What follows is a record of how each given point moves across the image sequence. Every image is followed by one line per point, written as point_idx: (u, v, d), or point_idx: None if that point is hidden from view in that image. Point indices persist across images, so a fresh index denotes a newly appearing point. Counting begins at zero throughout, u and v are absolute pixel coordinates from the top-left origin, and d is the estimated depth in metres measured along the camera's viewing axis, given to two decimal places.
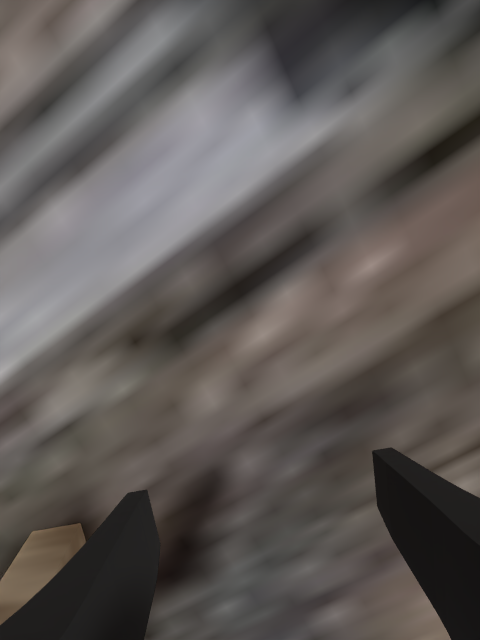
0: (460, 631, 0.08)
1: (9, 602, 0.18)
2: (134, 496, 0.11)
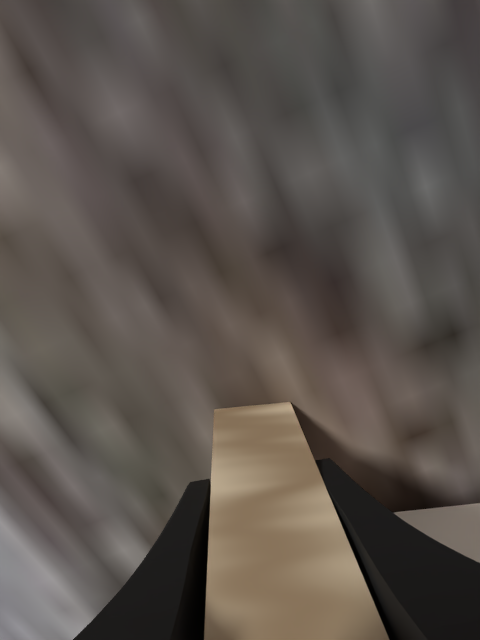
0: None
1: None
2: (198, 485, 0.11)
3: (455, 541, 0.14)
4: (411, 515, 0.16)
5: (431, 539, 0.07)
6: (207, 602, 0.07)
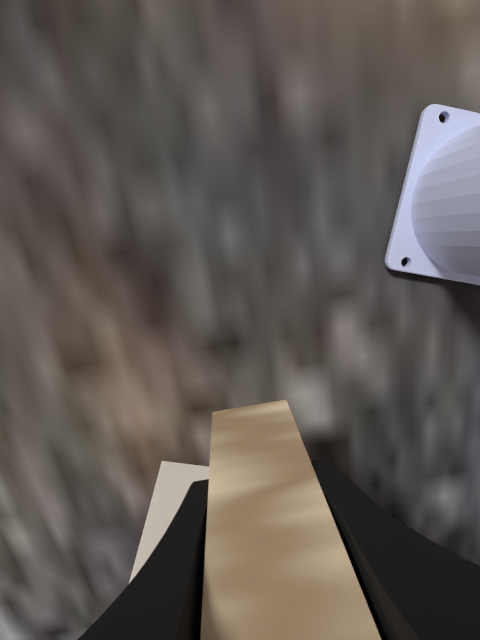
0: None
1: None
2: (202, 484, 0.11)
3: None
4: (184, 466, 0.22)
5: (427, 540, 0.07)
6: (204, 599, 0.07)
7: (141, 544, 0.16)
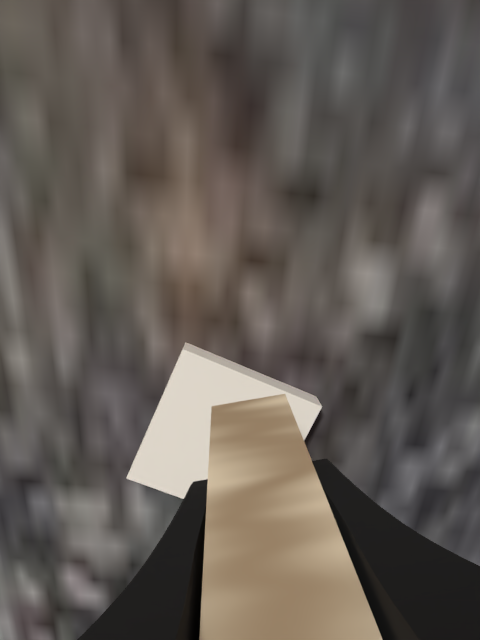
0: None
1: None
2: (201, 484, 0.11)
3: (210, 396, 0.20)
4: (204, 364, 0.19)
5: (427, 540, 0.07)
6: (203, 592, 0.07)
7: (140, 449, 0.20)
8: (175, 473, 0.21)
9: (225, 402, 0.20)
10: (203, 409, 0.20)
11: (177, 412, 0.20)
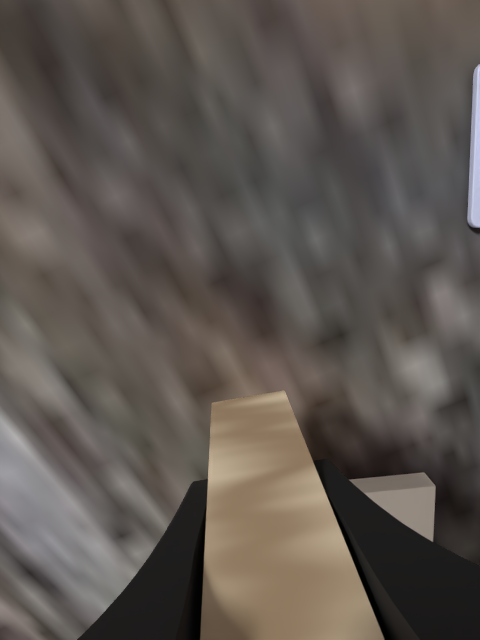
0: None
1: None
2: (201, 484, 0.11)
3: None
4: None
5: (427, 540, 0.07)
6: (204, 580, 0.07)
7: None
8: None
9: None
10: None
11: None
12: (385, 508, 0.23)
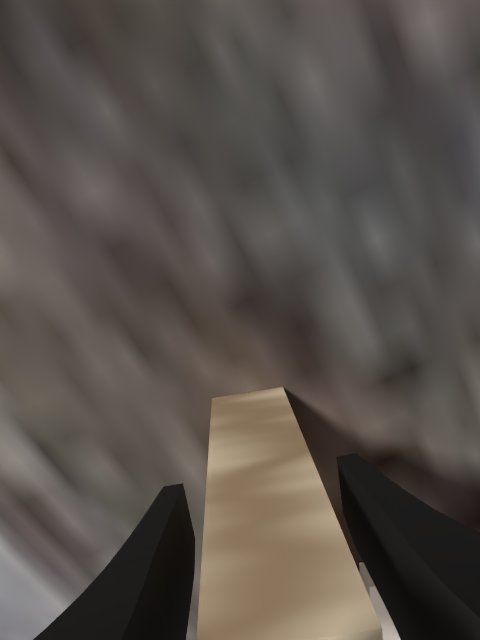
0: None
1: None
2: (171, 489, 0.11)
3: None
4: None
5: (473, 532, 0.07)
6: (203, 556, 0.08)
7: None
8: None
9: None
10: None
11: None
12: None
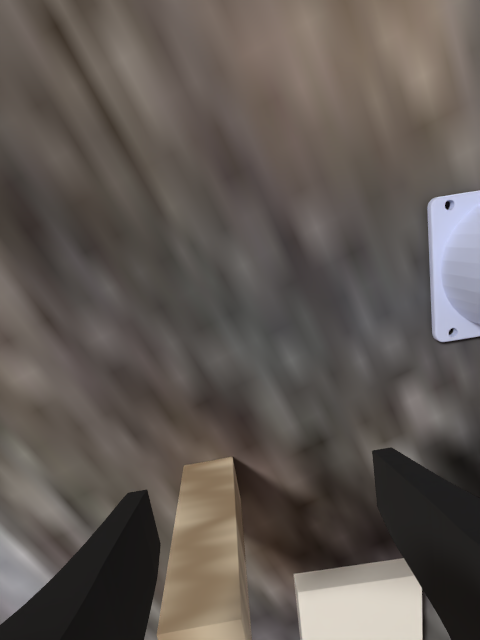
0: (460, 631, 0.08)
1: None
2: (134, 496, 0.11)
3: (335, 609, 0.24)
4: (318, 593, 0.24)
5: None
6: (165, 583, 0.15)
7: None
8: None
9: (348, 607, 0.24)
10: (335, 620, 0.24)
11: (317, 631, 0.24)
12: (375, 596, 0.24)
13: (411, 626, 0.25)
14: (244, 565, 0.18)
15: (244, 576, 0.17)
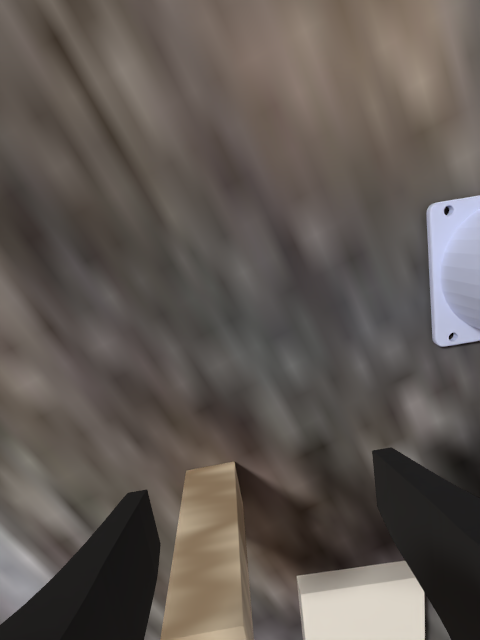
0: (460, 631, 0.08)
1: None
2: (134, 496, 0.11)
3: (338, 611, 0.24)
4: (321, 595, 0.24)
5: None
6: (168, 589, 0.15)
7: None
8: None
9: (351, 609, 0.24)
10: (338, 622, 0.24)
11: (321, 633, 0.25)
12: (377, 598, 0.24)
13: (414, 628, 0.25)
14: (246, 570, 0.18)
15: (246, 581, 0.17)
